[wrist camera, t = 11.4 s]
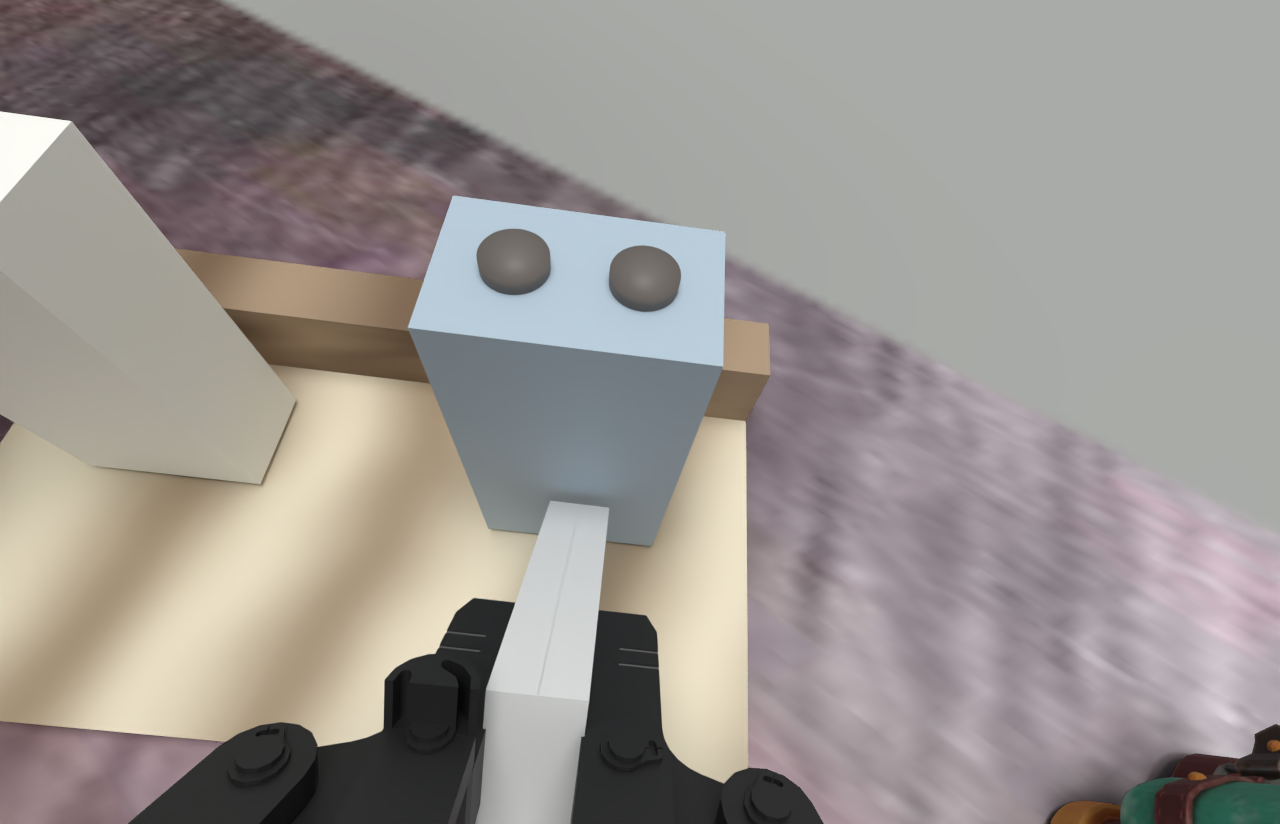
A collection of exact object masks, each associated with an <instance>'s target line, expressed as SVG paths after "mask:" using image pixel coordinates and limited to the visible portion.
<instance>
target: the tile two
mask: <svg viewBox="0 0 1280 824" xmlns="http://www.w3.org/2000/svg"><path fill="white" fill-rule="evenodd" d="M724 282H725V232H721V231H714V230H706V229H699V228H691V227H684V226H677V225H669V224H662V223H654V222H647V221H639V220H632V219H624V218H617V217H609V216H602V215H594V214H587V213H579V212H572V211H564V210H557V209H549V208H542V207H534V206H527V205H519V204H512V203H504V202H497V201H489V200H482V199H474V198H467V197H459V196H453V197H452V200H451V203H450V206H449V209H448V212H447V215H446V218H445V221H444V224H443V227H442V229H441V232H440V235H439V238H438V241H437V244H436V247H435V250H434V253H433V256H432V259H431V261H430V264H429V267H428V270H427V273H426V276H425V279H424V282H423V285H422V288H421V290H420V293H419V296H418V299H417V302H416V305H415V308H414V311H413V314H412V317H411V320H410V322H409V325H408V330H409V332H410V335H411V337H412V340H413V342H414V345H415V347H416V350H417V352H418V355H419V357H420V360H421V362H422V365H423V367H424V370H425V372H426V374H427V377H428V379H429V382H430V384H431V387H432V389H433V392H434V394H435V397H436V399H437V402H438V404H439V407H440V409H441V412H442V414H443V417H444V419H445V422H446V424H447V427H448V429H449V432H450V434H451V437H452V439H453V442H454V444H455V447H456V449H457V452H458V454H459V457H460V459H461V462H462V464H463V467H464V469H465V471H466V474H467V476H468V479H469V481H470V484H471V486H472V489H473V491H474V494H475V496H476V499H477V501H478V504H479V506H480V509H481V511H482V514H483V516H484V519H485V521H486V524H487V526H488V528H489V529H498V530H507V531H516V532H525V533H534V534H539V532H540V529H541V526H542V523H543V520H544V517H545V514H546V511H547V509H548V506H549V503H550V501H558V502H566V503H574V504H583V505H591V506H600V507H608V508H609V515H608V525H607V534H606V541H608V542H617V543H626V544H635V545H644V546H652V545H653V543H654V540H655V538H656V535H657V533H658V530H659V528H660V525H661V523H662V520H663V517H664V515H665V512H666V510H667V507H668V505H669V502H670V500H671V497H672V495H673V492H674V490H675V487H676V485H677V482H678V480H679V477H680V475H681V472H682V469H683V467H684V464H685V462H686V459H687V457H688V454H689V452H690V449H691V447H692V444H693V442H694V439H695V437H696V434H697V432H698V429H699V427H700V424H701V421H702V419H703V416H704V414H705V411H706V409H707V406H708V404H709V401H710V399H711V396H712V394H713V391H714V389H715V386H716V384H717V381H718V379H719V376H720V373H721V371H722V368H723V348H724Z"/></svg>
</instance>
